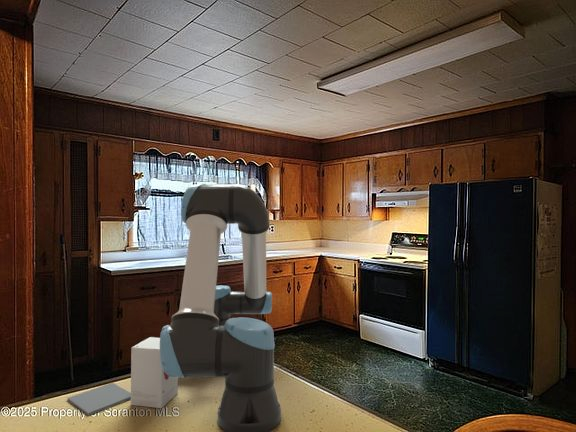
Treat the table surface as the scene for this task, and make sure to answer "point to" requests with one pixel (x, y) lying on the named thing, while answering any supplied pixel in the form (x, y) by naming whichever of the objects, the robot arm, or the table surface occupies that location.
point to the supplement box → (150, 376)
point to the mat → (100, 398)
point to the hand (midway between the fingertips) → (163, 363)
